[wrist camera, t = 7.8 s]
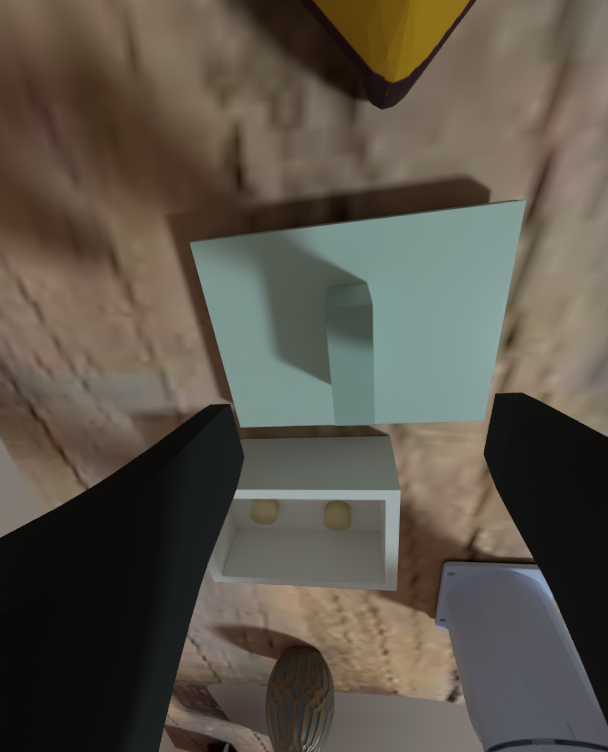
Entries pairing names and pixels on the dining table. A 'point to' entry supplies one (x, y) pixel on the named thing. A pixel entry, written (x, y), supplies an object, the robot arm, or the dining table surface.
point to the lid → (363, 316)
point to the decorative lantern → (389, 38)
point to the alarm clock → (218, 749)
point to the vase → (299, 701)
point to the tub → (313, 515)
